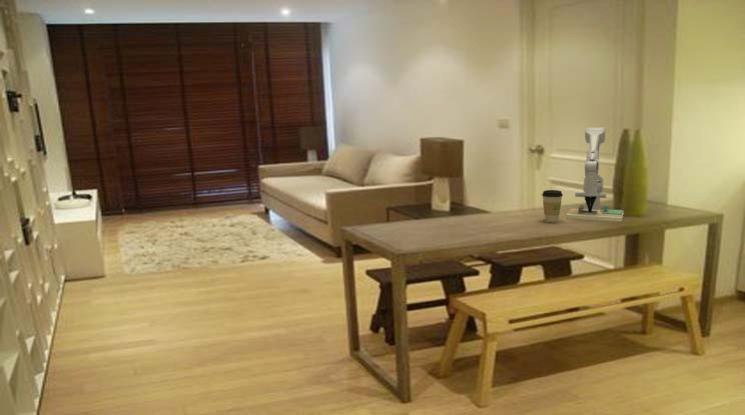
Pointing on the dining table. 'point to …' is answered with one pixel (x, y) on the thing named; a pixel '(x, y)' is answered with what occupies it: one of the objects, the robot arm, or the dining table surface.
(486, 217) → the dining table surface
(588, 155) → the robot arm
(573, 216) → the board
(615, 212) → the cover
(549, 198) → the coffee cup
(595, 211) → the t key
